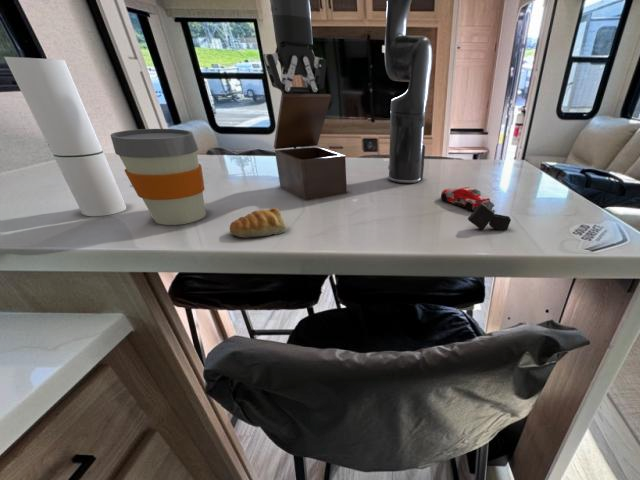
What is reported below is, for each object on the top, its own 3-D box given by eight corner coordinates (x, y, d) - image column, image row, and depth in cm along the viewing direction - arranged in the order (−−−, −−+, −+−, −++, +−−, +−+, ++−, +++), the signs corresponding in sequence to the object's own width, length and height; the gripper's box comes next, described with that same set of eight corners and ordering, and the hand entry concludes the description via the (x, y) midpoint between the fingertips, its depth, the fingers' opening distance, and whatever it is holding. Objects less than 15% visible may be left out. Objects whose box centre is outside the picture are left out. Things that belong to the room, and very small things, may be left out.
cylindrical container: (122, 202, 72) (61, 59, 58) (130, 211, 68) (67, 60, 54) (79, 208, 68) (3, 56, 54) (85, 218, 64) (4, 56, 50)
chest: (347, 192, 85) (345, 155, 80) (305, 200, 78) (300, 160, 74) (319, 180, 93) (316, 146, 88) (280, 186, 87) (274, 150, 82)
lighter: (493, 237, 71) (511, 217, 69) (497, 241, 69) (515, 221, 67) (466, 217, 68) (483, 196, 66) (469, 221, 66) (487, 199, 64)
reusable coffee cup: (149, 209, 69) (118, 128, 61) (216, 204, 74) (196, 128, 65) (137, 232, 60) (98, 140, 51) (215, 224, 64) (191, 138, 56)
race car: (436, 199, 84) (437, 183, 82) (451, 196, 87) (453, 180, 85) (476, 214, 75) (480, 196, 73) (492, 210, 78) (495, 193, 76)
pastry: (237, 243, 58) (232, 222, 55) (226, 231, 62) (220, 211, 60) (289, 232, 63) (286, 212, 61) (275, 221, 67) (272, 202, 65)
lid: (331, 96, 76) (321, 80, 77) (283, 96, 70) (272, 78, 71) (317, 145, 88) (308, 130, 89) (275, 149, 82) (265, 133, 82)
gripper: (264, 8, 62) (278, 113, 71) (332, 19, 70) (336, 112, 79) (249, 11, 66) (264, 109, 76) (314, 21, 74) (320, 108, 84)
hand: (301, 110), depth 77 cm, fingers closed on lid, 5 cm apart
